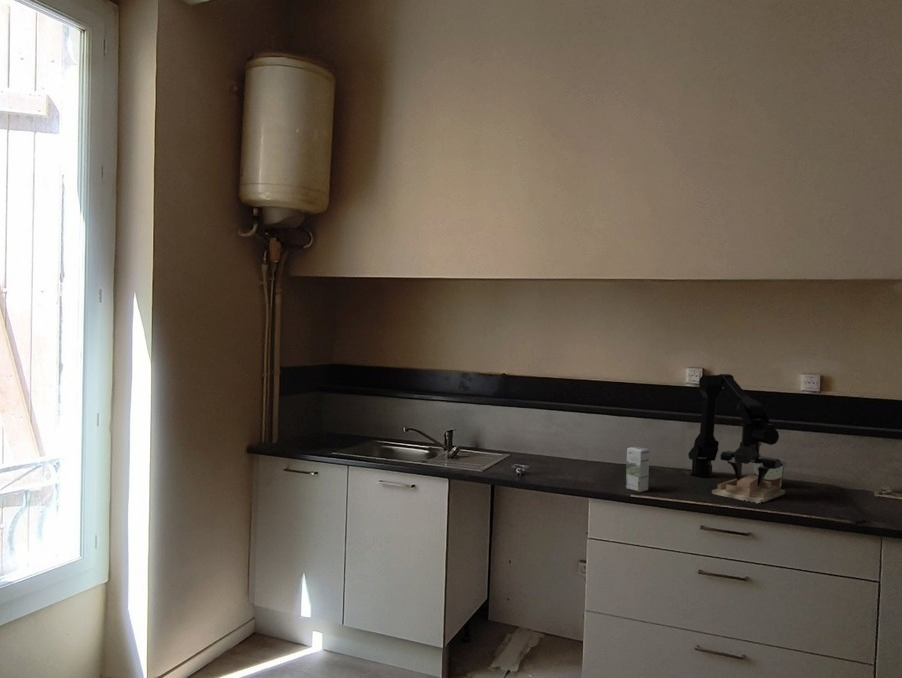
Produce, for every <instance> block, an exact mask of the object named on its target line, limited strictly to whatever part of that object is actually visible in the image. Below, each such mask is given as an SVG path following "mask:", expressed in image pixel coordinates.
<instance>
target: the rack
mask: <svg viewBox="0 0 902 678" xmlns="http://www.w3.org/2000/svg"><path fill="white" fill-rule="evenodd" d="M737 481H738V480H737V478H734V479H730V480H727V481H724V482H720V483H718V484H717V486H716V487H717V488H715V489H712V490H711V494H712V495H716V496H722V497H726V498H731V499H735V500H740V501H744V500H745V502H748V501H750V502H749V503H753V502H755V503H754V504H758V503H760V504H762V503H761V502H763V503H765V502H767V501H770V500H772V499H776V498H779V497H781V496H783V495H785V494H786V491H785V489H781V488H782V486H781V487H771V482H768V481H762V483H761V485H760V488H759V489H758V490H756V491H755V492H753V493H751V489H748V488H743V487H738V486H737Z"/></svg>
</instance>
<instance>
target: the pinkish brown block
mask: <svg viewBox="0 0 902 678" xmlns="http://www.w3.org/2000/svg"><path fill="white" fill-rule="evenodd" d="M757 482H758V476H754V475H751V474H748V475H746V476H744V477H741V479H740V480H738V481H737V486H738V487H743V488H748V489H751V493H753V492H755V491H756V490H758V489H759V488H760V486H758V483H757Z"/></svg>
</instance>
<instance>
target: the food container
mask: <svg viewBox="0 0 902 678" xmlns="http://www.w3.org/2000/svg"><path fill="white" fill-rule="evenodd" d="M768 457H770V458H776V459H779V460H780V461H781V467H779V468H776V469H769V470H768V472H767V473H766V475H765V477H764V479H763V481H768V482H771V488H775V487H781V488H782V483H783V478H784V472H785V468H786V467H787V462H786V460H785V459H783V458H782V457H781V458H780V457H775V456H771V455H770V456H768V455H761V457H760V458H761V459H765V458H768ZM758 467H761V464H758V463H752V469H753V472H752V473H753V476H758V473H759V471H758Z"/></svg>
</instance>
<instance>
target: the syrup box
mask: <svg viewBox="0 0 902 678" xmlns="http://www.w3.org/2000/svg"><path fill="white" fill-rule="evenodd" d="M626 449H627V450H626V469H625V470H626V476H625V489H626V490H630V491H633V492H638V493H640V492H645V491H649V472H650V471H649V470H650V469H649V468H650V467H649V466H650V449H649V448H644V447H639V446H631V447H628V448H626Z"/></svg>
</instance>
